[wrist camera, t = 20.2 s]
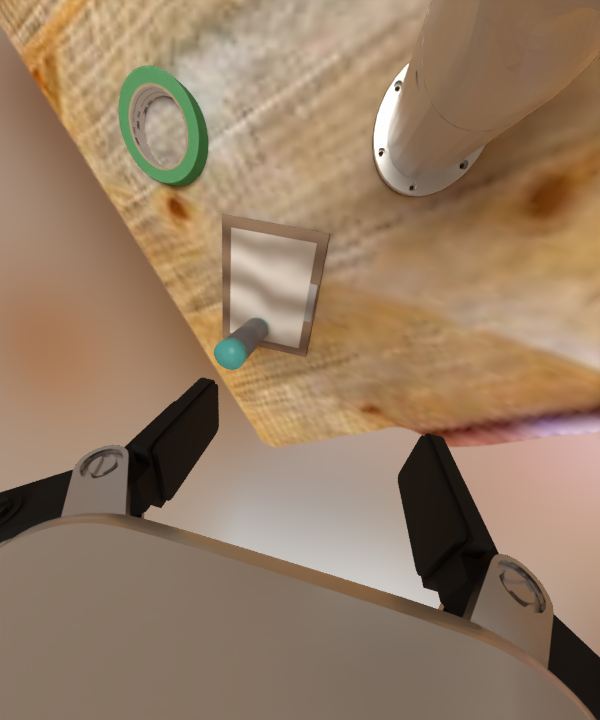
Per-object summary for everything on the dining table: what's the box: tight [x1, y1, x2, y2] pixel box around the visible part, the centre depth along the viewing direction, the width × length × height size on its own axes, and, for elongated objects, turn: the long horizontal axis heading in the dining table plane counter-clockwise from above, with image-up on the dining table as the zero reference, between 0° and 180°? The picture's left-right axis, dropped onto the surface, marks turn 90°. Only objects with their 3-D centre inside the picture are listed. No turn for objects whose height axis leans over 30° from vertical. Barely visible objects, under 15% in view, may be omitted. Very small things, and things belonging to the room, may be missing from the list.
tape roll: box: [119, 66, 208, 186], centre depth 31 cm, size 11×11×3 cm
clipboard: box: [222, 214, 330, 357], centre depth 38 cm, size 20×16×2 cm
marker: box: [214, 318, 268, 370], centre depth 36 cm, size 4×4×12 cm
